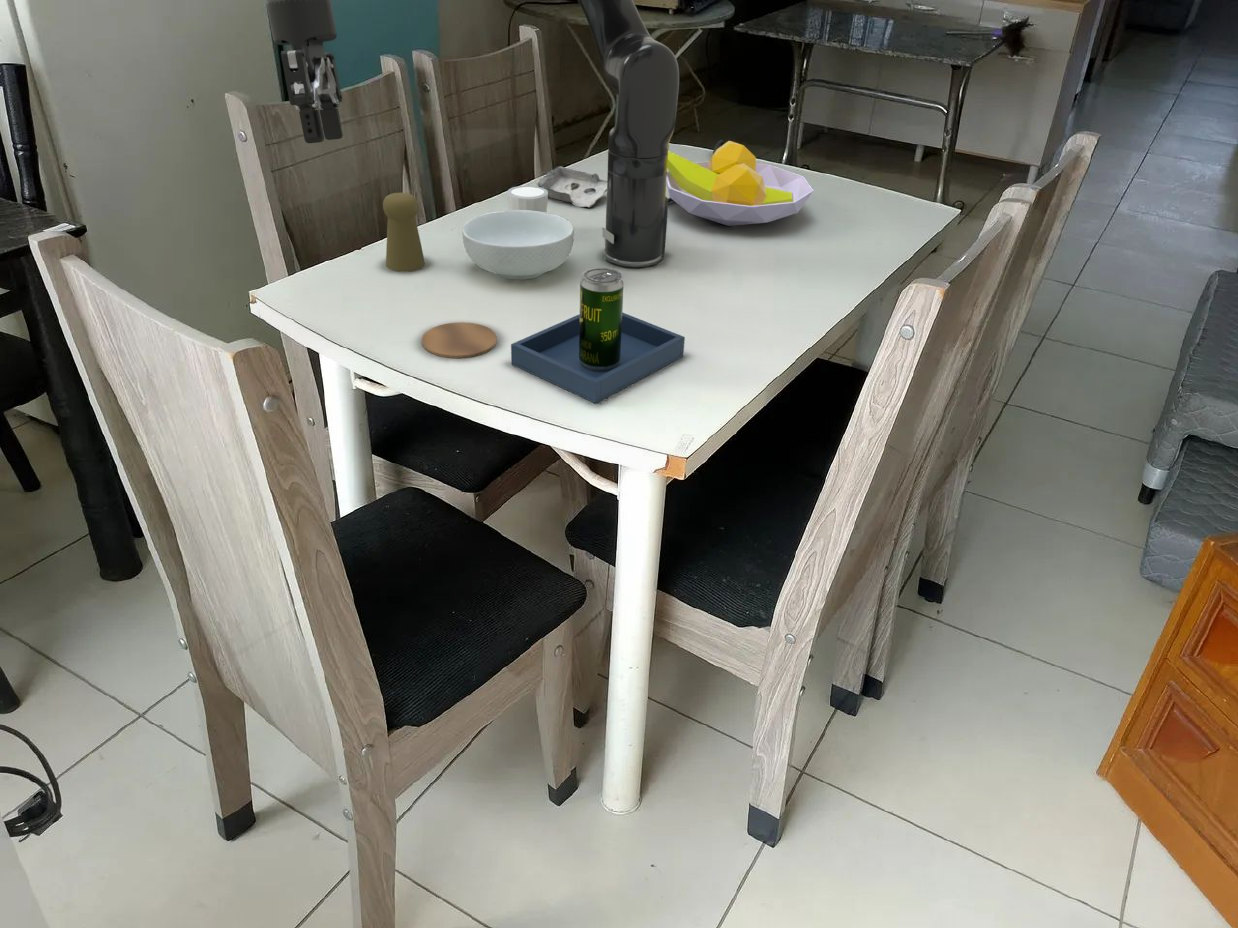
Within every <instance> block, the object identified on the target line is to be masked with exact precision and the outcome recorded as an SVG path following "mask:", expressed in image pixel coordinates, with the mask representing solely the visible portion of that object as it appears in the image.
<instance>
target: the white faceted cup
mask: <svg viewBox="0 0 1238 928" xmlns="http://www.w3.org/2000/svg"><path fill="white" fill-rule="evenodd" d="M506 194H507V195H506V196H507V203H508V210H530V211H540V212H546V213H548V212H547V209H548V199H549V197H548V191H547V190H546V189H544V188H541V187H538V185H537V186H536V185H518V186H513V187H511V188H509V189H508V190H507V191H506Z"/></svg>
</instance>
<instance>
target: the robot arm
mask: <svg viewBox="0 0 1238 928" xmlns="http://www.w3.org/2000/svg"><path fill="white" fill-rule="evenodd" d="M264 2H265V5H266V10H267V17H268V20H269V21H268V22H269V26H270V30H271V35H272V40H273V42H274V43H275V44H276V45H279V46H289V49H288V50H281V51H280V59H281V62H282V67H283V68H282V69H283V73H284V74H283V75H284V79H285V85H286V90H287V95H288V102H289V103H290V106H294V108H295V110H296V111H297V112H298V113H299V118H300V123H301V129H302V133H303V139H304V142H305V143H306V144H317V143H323V142H324V140H325V139H326V140H327V141H333V140H334V141H335V140H340V139H342V138H343V136H344V134H343V129H342V124H341V123H342V122H341V118H340V113H339V112H340V111H339V108H340V103H341V102H343V95H342V90H341V85H340V81H339V75H338V70H337V66H336V61H335V55H334V54H333V52H326V51H325V48H324V43H325V42H331V41H334V40H336V39H337V37H338V33H337V28H336V22H335V16H334V11H333V5H332V0H264ZM577 2H578V4H579V6H580V8H581V10H582V12H583V14H584V17H585V18H586V21H587V23H588V26H589V30H590V32H591V35H592V38H593V42H594V44H595V49H596V51H597V54H598V57H599V60H600V64H601V67H602V70H603V74H604V76H605V79H606V82H607V83H608V85H609V87H610V88H611V90H612V91H613V92H614V93H615V94H617V95H618V103H617V115H616V116H617V117H616V123H615V124H616V125H615V126H614V127H612V128H611V129H610V130H609V132H608V141H607V142H608V145H607V148H608V149H607V173H606V174H607V176H606V177H607V178H606V181H607V191H606V206H605V208H606V209H605V228H604V227H602V231H601V232H602V238H604V249H603V256H604V259H605V260H606V261H608V262H609V263H611V264H613V265H617V266H621V267H625V268H626V267H627V268H646V267H651V266H654V265H657V264H659V263H660V262H661V261H662V259H663V256H665V254H666V243H667V242H666V241H667V227H668V215H669V214H668V211H669V204H670V203H672V202H675V201H674V200H672V199H671V198H670V197H669V198H668V196H666V193H667V183H666V180H667V172H668V168H667V164H668V151H669V147H670V142H671V140H672V137H673V135H674V132H675V127H676V121H677V120H676V118H677V110H678V102H679V91H680V68H679V67H680V66H679V63H678V60H677V58H676V56H675V54H674V52H673V51H672V50H671V49H670V48H669V47H668V46H666V45H665V44H663V43H661V42H659V41H657V40H656V39H653V38H652V36H651V34H650V33H649V31H648V29H647V27H646V25H645V23H644V22H643V19H642V17H641V15H640V13H639V11H638V8H637V6H636V4H635V2H634V0H577ZM724 144H725V142H724V140H722V139H720V140H718V141H717V143H716V144H715V145H714V148H713V150H712V155H713V154H714V153H715V151H716V150H717V149H718V148H719V147H721V146H722V145H724Z"/></svg>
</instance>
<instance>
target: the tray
mask: <svg viewBox="0 0 1238 928" xmlns="http://www.w3.org/2000/svg"><path fill="white" fill-rule="evenodd" d="M579 324H580V313H579V314H576V315H574V316H572V317H569V318H568V319H565V320H563V321H560V322H559V323H556V324H554V325H551V326H549V327H546V328H545V329H543V330H540V331H538V332H536V333H533V334H531V335H529V336H526V337H524V338H522V339H519V340H517V341H514V342H513V343H511V344H510V354H511V355H510V356H511V357H510V358H511V362H510V364H511V365H512V366H513V367H514V366H515V367H516V368H519V369H521V370H523V371H525V372H528V373H529V374H532V375H534V376H536V377H538V378H539V379H542V380H544V381H547V382H549V383H550V384H553V385H555V386H557V387H559V388H561V389H563V390H566V391H568V392H570V393H571V394H574V395H576V396H578V397H581V398H583V399H584V400H587V401H589V402H591V403H593V404H597V403H600V402H601V401H603V400H605V399H608V398H609V397H611V396H612V395H614V394H616V393H618V392H620V391H622V390H624V389H626V388H627V387H630V386H631V385H633V384H635V383H636V382H639V381H640V380H642V379H644V378H646V377H648V376H649V375H652V374H653V373H655V372H657V371H659V370H661V369H663V368H664V367H666V366H668V365H671V364H672V363H674V362H676V361H678V360H679V359H682V358H683V357H684V353H685V352H684V351H685V341H686V337H685V336H684V335H681V334H678V333H677V332H674V331H671V330H668V329H666V328H663V327H660V326H659V325H655V324H653V323H650V322H648V321H645V320H644V319H641V318H638V317H635V316H633V315H630V314H627V313H626V312H623V311H622V331H621V353H620V360H619V362H618V364H617V366H616V367H615V368H613V369H611V370H607V371H594V370H590V369H587V368H585V367H584V366H583V365H582V364H581V362H580V360H579Z"/></svg>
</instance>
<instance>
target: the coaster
mask: <svg viewBox="0 0 1238 928" xmlns="http://www.w3.org/2000/svg"><path fill="white" fill-rule="evenodd" d="M497 343H498V336H497V334H496V332H495V331H494V330H493V329H491V328H489V327H488V326H486V325H482V324H478V323H474V322H449V323H443V324H440V325H436V326H434V327H431V328H429V329H428V330H427V331H425V333H423V335H422V337H421V345H422V347H423V349H424V350H426V352H429V353H430V354H433V355H435V356H438V357H443V358H448V359H449V358H450V359H465V358H472V357H478V356H480V355H481V356H482V355H483V354H485V353H488V352H490V351H491V350H493V349H494V348H495V346H496V345H497Z"/></svg>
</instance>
